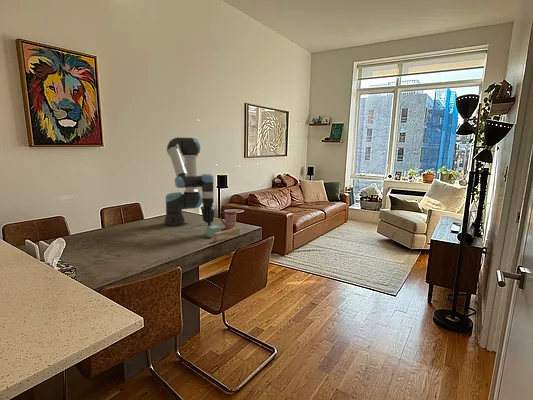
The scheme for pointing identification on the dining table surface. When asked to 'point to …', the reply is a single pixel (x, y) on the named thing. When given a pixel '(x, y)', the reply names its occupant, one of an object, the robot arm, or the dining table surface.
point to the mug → (229, 218)
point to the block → (212, 230)
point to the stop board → (227, 234)
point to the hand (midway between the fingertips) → (208, 231)
